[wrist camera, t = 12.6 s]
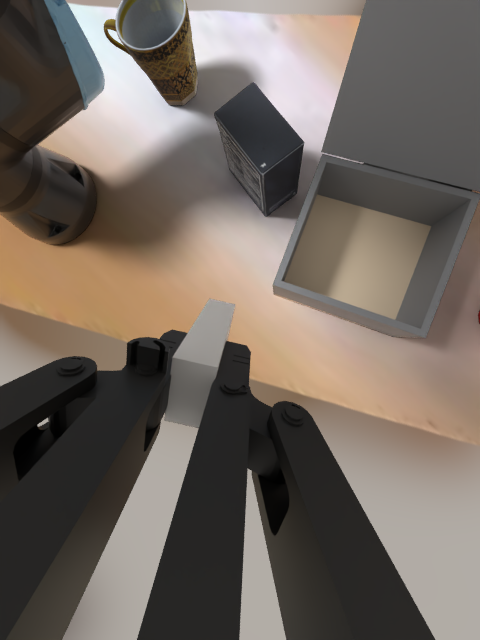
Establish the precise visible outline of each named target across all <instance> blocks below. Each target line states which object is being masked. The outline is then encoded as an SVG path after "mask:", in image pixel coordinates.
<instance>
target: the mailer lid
mask: <svg viewBox="0 0 480 640" xmlns="http://www.w3.org/2000/svg"><path fill="white" fill-rule="evenodd" d="M321 152H324V153H328V154H332V155H336V156H340V157H344V158H348V159H352V160H356V161H360V162H364V163H368V164H372V165H375V166H379V167H383V168H387V169H391V170H395V171H399V172H403V173H407V174H411V175H415V176H419V177H423V178H427V179H431V180H435V181H439V182H443V183H447V184H451V185H455V186H459V187H463V188H467V189H471V190H475V191H479V192H480V0H366V3H365V6H364V9H363V13H362V16H361V19H360V23H359V26H358V29H357V33H356V36H355V40H354V43H353V46H352V50H351V53H350V57H349V60H348V63H347V67H346V70H345V73H344V77H343V80H342V84H341V87H340V90H339V94H338V97H337V100H336V104H335V107H334V111H333V114H332V117H331V121H330V124H329V127H328V131H327V134H326V138H325V141H324V144H323V148H322V151H321Z"/></svg>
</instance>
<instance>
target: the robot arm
mask: <svg viewBox="0 0 480 640" xmlns="http://www.w3.org/2000/svg"><path fill="white" fill-rule="evenodd" d="M104 82H105V80H104V74H103V71H102V68H101V66H100V64H99V62H98V60H97V58H96V56H95V54H94V52H93V50H92V48H91V46H90V44H89V42H88V40H87V38H86V36H85V35H84V33H83V31H82V29H81V27H80V25H79V23H78V22H77V20H76V18H75V16H74V14H73V13H72V11H71V9H70V7H69V5H68V4H67V2H66V1H65V0H0V214H1V215H2V216H3V217H4V218H6V219H7V220H8V221H10V222H11V223H12V224H13V225H15V226H16V227H17V228H19V229H20V230H21V231H22V232H24V233H25V234H26V235H28V236H30V237H32V238H34V239H36V240H39V241H42V242H44V243H48V244H63V243H66V242H69V241H71V240H73V239H75V238H76V237H78V236H79V235H80V234H81V233H82V232H83V231H84V230H85V229H86V228H87V226H88V225H89V223H90V221H91V219H92V217H93V215H94V212H95V208H96V190H95V186H94V183H93V181H92V179H91V177H90V176H89V174H88V173H87V172H86V171H85V170H84V169H83V168H81V167H80V166H79V165H78V164H77V163H75V162H74V161H73V160H71V159H69V158H68V157H65V156H63V155H61V154H58V153H56V152H54V151H51V150H49V149H46V148H44V147H42V146H39V145H38V144H39V143H40V142H42V141H43V140H44V139H45V138H47V137H48V136H49V135H51V134H52V133H53V132H54V131H56V130H57V129H58V128H60V127H61V126H62V125H63V124H65V123H66V122H67V121H69V120H70V119H71V118H72V117H74V116H75V115H76V114H77V113H79V112H80V111H81V110H86V109H87V107H88V104H89V103H90V102H91V101H92V100H94V99H95V98H96V97H97V96H98V95H99V94H100V93H101V92H102V91H103V89H104ZM234 308H235V304H231V303H227V302H223V301H218V300H214V299H209V300H208V302H207V304H206V305H205V307H204V308H203V310H202V311H201V313H200V315H199V316H198V318H197V319H196V321H195V322H194V324H193V326H192V327H191V329H190V330H189V332H188V333H185V332H181V331H176V330H171V331H168V332H166V333H164V334H163V335H162V336H161V338H160V339H157V338H150V337H144V338H137V339H133V340H131V341H130V342H128V343H127V362H126V366H125V367H124V368H123V369H122V370H120V371H97V365H96V363H95V361H93V360H91V359H89V358H86V357H77V356H73V357H66V358H62V359H59V360H56V361H53V362H51V363H49V364H47V365H45V366H43V367H41V368H38V369H36V370H34V371H32V372H30V373H28V374H26V375H24V376H22V377H19V378H17V379H15V380H13V381H11V382H9V383H7V384H4V385H2V386H0V640H62V638H63V636H64V634H65V632H66V630H67V628H68V626H69V624H70V621H71V619H72V617H73V615H74V613H75V611H76V609H77V607H78V604H79V602H80V600H81V598H82V596H83V594H84V592H85V589H86V587H87V585H88V583H89V581H90V579H91V576H92V574H93V572H94V570H95V568H96V566H97V564H98V562H99V559H100V557H101V555H102V553H103V551H104V549H105V547H106V544H107V542H108V540H109V538H110V536H111V534H112V532H113V529H114V527H115V525H116V523H117V521H118V519H119V517H120V514H121V512H122V510H123V508H124V506H125V504H126V502H127V500H128V498H129V495H130V493H131V491H132V489H133V487H134V484H135V483H136V480H137V478H138V476H139V474H140V472H141V470H142V468H143V465H144V463H145V461H146V459H147V457H148V455H149V453H150V450H151V448H152V446H153V444H154V442H155V440H156V438H157V435H158V433H159V429H160V423H161V419H162V417H163V415H164V413H165V419H164V420H165V421H169V422H173V423H178V424H183V425H187V426H192V427H196V428H199V430H198V433H197V436H196V440H195V443H194V447H193V450H192V453H191V457H190V460H189V464H188V467H187V470H186V474H185V477H184V481H183V484H182V488H181V491H180V494H179V498H178V502H177V505H176V508H175V512H174V515H173V518H172V522H171V525H170V529H169V532H168V536H167V539H166V542H165V546H164V549H163V553H162V556H161V559H160V563H159V567H158V570H157V573H156V576H155V580H154V583H153V587H152V590H151V594H150V597H149V600H148V604H147V608H146V611H145V614H144V618H143V621H142V624H141V628H140V631H139V635H138V638H137V640H239V632H240V612H241V591H242V571H243V550H244V549H243V548H244V527H245V508H246V487H247V468H248V469H250V470H252V478H253V483H254V487H255V492H256V497H257V502H258V506H259V511H260V516H261V521H262V525H263V530H264V535H265V540H266V545H267V549H268V554H269V559H270V563H271V568H272V573H273V578H274V583H275V587H276V592H277V597H278V602H279V607H280V611H281V616H282V621H283V626H284V630H285V635H286V640H435V638H434V636H433V635H432V633H431V631H430V629H429V627H428V626H427V624H426V622H425V620H424V618H423V617H422V615H421V613H420V611H419V610H418V608H417V606H416V604H415V602H414V601H413V598H412V597H411V595H410V593H409V591H408V590H407V588H406V586H405V584H404V582H403V581H402V579H401V577H400V575H399V574H398V571H397V570H396V568H395V566H394V564H393V562H392V561H391V559H390V557H389V555H388V553H387V552H386V550H385V548H384V546H383V544H382V542H381V541H380V539H379V537H378V535H377V533H376V532H375V530H374V528H373V526H372V524H371V523H370V521H369V519H368V517H367V516H366V514H365V512H364V510H363V508H362V506H361V504H360V503H359V501H358V499H357V497H356V495H355V494H354V492H353V490H352V488H351V487H350V485H349V483H348V481H347V479H346V477H345V476H344V474H343V472H342V470H341V468H340V467H339V465H338V463H337V461H336V459H335V458H334V456H333V454H332V452H331V451H330V449H329V447H328V445H327V443H326V441H325V440H324V438H323V436H322V434H321V432H320V430H319V429H318V427H317V425H316V423H315V422H314V420H313V418H312V416H311V415H310V414H309V413H308V411H306V410H305V409H304V408H303V407H301V406H300V405H297V404H295V403H293V402H287V401H282V402H278V403H276V404H274V406H273V408H272V407H270V406H268V405H266V404H264V403H262V402H261V401H259V400H258V399H256V398H255V397H254V396H253V395H252V393H251V390H250V387H249V372H250V355H251V352H250V350H249V349H248V347H247V346H246V345H242V344H237V343H233V342H228V341H227V340H228V335H229V331H230V326H231V322H232V317H233V313H234ZM46 418H48V420H49V422H47V423H46V424H44V425H42V426H40V427H38V426H37V424H39V423H40V422H42V421H43V420H44V419H46Z"/></svg>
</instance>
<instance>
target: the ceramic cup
mask: <svg viewBox="0 0 480 640" xmlns="http://www.w3.org/2000/svg"><path fill="white" fill-rule="evenodd" d="M107 29H111V30H114V31H116V32H117V34H118V37H119V39H120V40H121V42H122V43H123V45H122V44H120V43H119V42H117V41H116V40H114V39H113V38H112V37H111V36H110V34H109V33H108V30H107ZM104 32H105V35H106V37H107V38H108V39H109V41H110V42H111V43H112V44H114V45H115V46H116V47H118V48H120V49H121V50H123V51H125V52H126V53H128V54H129V55H131V56H132V57H133V59H134V60H135V61H136V63H137V64H138V65H139V66H140V67H141V69H142V70H143V71H144V72H145V73H146V74H147V76H148V77H149V78H150V80H151V81H152V83H153V84H154V85H155V87H156V89H157V90H158V91H159V93H160V94H161V96H162V97H163V98H164V99H165V101H166V102H167V103H168V104H169V105H185V104H186V103H187V102H188V101H190V100H191V99H192V98H193V97H194V96H195V95H196V92H197V85H198V76H197V69H196V62H195V56H194V49H193V43H192V33H191V26H190V19H189V13H188V8H187V3H186V0H122V2H121V4H120V5H119V8H118V10H117V14H116V20H114V19H109V20H107V21H106V22H105V24H104Z"/></svg>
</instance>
